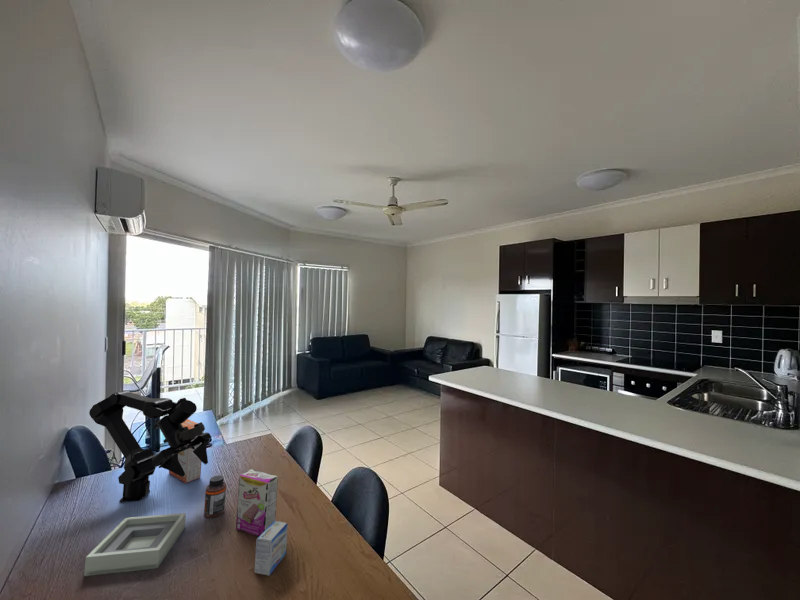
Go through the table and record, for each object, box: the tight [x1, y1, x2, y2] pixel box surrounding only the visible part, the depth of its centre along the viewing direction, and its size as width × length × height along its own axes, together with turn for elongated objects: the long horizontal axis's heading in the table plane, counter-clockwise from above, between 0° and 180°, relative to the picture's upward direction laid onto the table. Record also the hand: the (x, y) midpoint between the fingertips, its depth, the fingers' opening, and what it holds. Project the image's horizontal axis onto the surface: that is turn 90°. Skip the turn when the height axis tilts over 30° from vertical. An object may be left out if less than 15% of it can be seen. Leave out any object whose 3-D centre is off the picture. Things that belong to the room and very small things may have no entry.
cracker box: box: [168, 418, 205, 484], centre depth 130 cm, size 14×6×21 cm, turn 58°
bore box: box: [83, 512, 187, 577], centre depth 89 cm, size 16×16×4 cm
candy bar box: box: [235, 468, 279, 537], centre depth 99 cm, size 11×5×16 cm, turn 71°
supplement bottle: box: [203, 474, 227, 518], centre depth 107 cm, size 6×6×11 cm
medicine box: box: [254, 520, 288, 577], centre depth 86 cm, size 8×4×9 cm, turn 168°
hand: (195, 469), depth 109 cm, fingers open, 9 cm apart
